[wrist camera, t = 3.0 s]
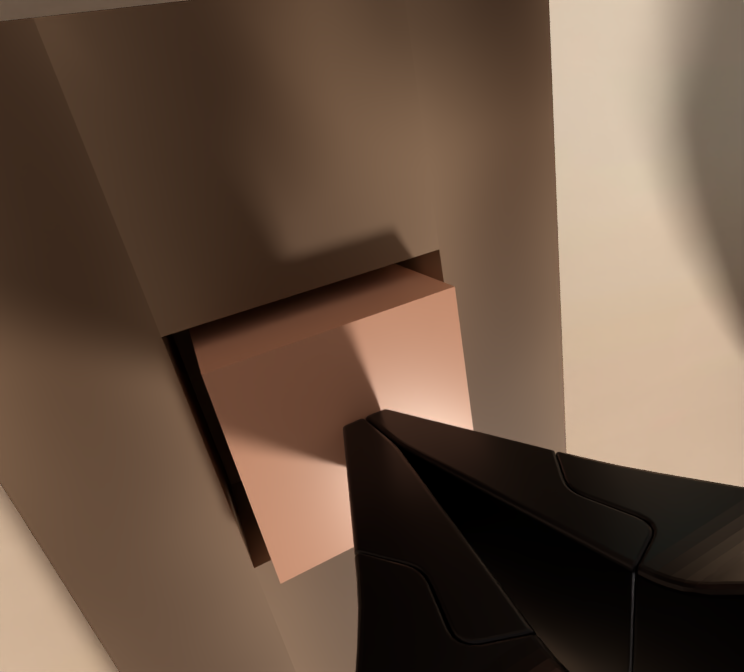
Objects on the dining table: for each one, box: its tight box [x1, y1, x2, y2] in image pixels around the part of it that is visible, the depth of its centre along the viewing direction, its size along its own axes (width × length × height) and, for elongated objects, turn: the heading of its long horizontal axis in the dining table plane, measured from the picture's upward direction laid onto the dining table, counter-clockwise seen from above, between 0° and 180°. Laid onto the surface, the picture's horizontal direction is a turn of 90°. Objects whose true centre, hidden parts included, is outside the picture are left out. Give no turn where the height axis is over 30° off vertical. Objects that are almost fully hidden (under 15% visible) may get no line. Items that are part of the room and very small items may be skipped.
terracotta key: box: [189, 264, 474, 584], centre depth 10 cm, size 4×4×3 cm
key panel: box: [0, 0, 566, 672], centre depth 14 cm, size 11×26×4 cm, turn 12°
